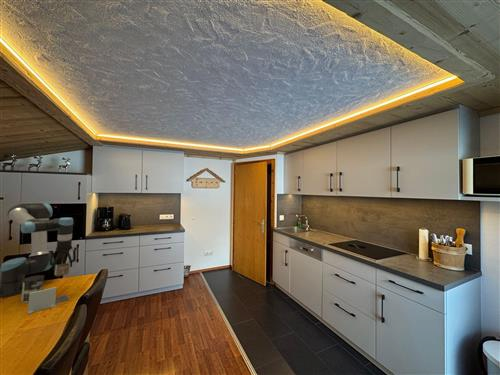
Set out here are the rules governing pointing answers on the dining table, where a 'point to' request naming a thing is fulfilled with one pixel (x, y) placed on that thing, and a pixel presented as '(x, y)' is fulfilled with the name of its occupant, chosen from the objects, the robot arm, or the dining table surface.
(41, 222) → the robot arm
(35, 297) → the screen
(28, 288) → the coffee can
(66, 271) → the brown cube
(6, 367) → the dining table surface
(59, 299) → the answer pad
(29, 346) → the dining table surface
